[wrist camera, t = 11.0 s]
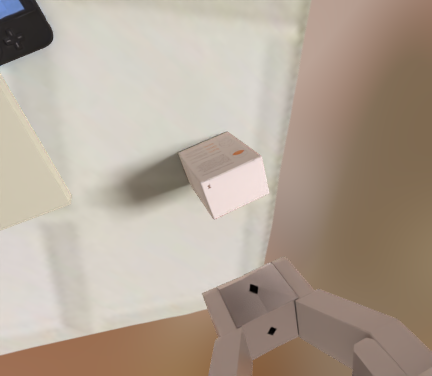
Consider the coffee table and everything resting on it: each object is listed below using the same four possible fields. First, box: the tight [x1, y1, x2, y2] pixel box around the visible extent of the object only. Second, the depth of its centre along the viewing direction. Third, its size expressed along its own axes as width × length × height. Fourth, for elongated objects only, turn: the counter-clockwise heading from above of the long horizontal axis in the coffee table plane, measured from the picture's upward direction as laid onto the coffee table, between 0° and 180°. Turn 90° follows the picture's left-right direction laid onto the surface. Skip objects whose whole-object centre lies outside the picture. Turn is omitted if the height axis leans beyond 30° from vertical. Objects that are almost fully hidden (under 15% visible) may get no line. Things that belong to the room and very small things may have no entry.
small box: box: [178, 132, 269, 219], centre depth 40 cm, size 8×6×10 cm
